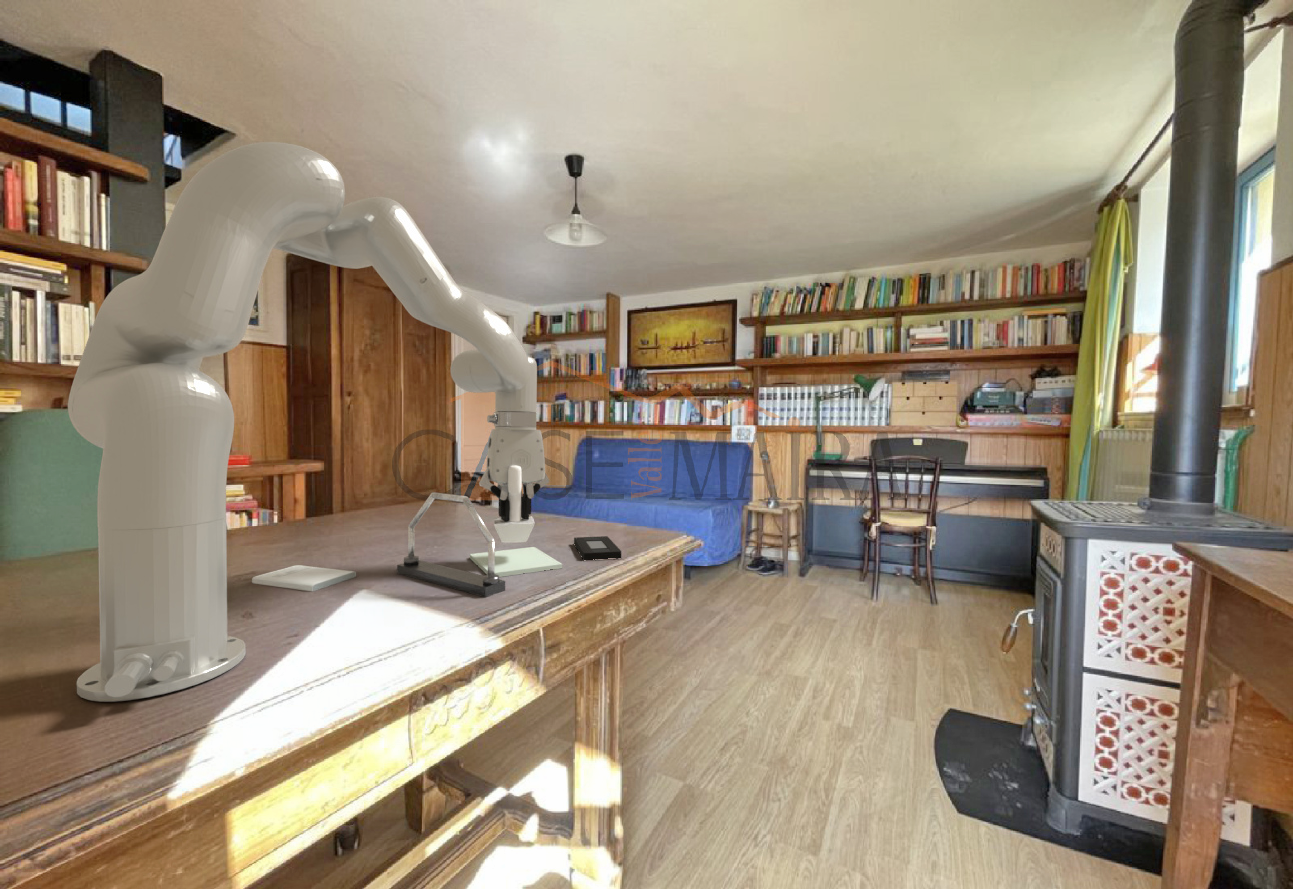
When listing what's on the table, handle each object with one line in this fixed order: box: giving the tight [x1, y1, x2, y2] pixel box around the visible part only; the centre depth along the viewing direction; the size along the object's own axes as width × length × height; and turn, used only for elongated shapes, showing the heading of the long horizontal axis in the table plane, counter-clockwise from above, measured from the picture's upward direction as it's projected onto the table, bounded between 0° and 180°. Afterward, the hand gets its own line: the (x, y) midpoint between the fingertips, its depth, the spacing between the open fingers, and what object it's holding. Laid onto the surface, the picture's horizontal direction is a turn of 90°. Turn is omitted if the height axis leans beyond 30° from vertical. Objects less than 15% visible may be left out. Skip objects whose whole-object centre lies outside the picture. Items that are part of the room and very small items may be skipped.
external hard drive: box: [251, 564, 357, 592], centre depth 84 cm, size 2×8×12 cm
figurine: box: [493, 466, 536, 544], centre depth 96 cm, size 7×9×15 cm
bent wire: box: [396, 492, 506, 598], centre depth 84 cm, size 22×4×14 cm, turn 59°
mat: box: [469, 546, 563, 578], centre depth 96 cm, size 15×13×1 cm
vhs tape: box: [573, 535, 622, 561], centre depth 107 cm, size 8×14×2 cm, turn 16°
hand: (514, 518), depth 96 cm, fingers closed on figurine, 3 cm apart
